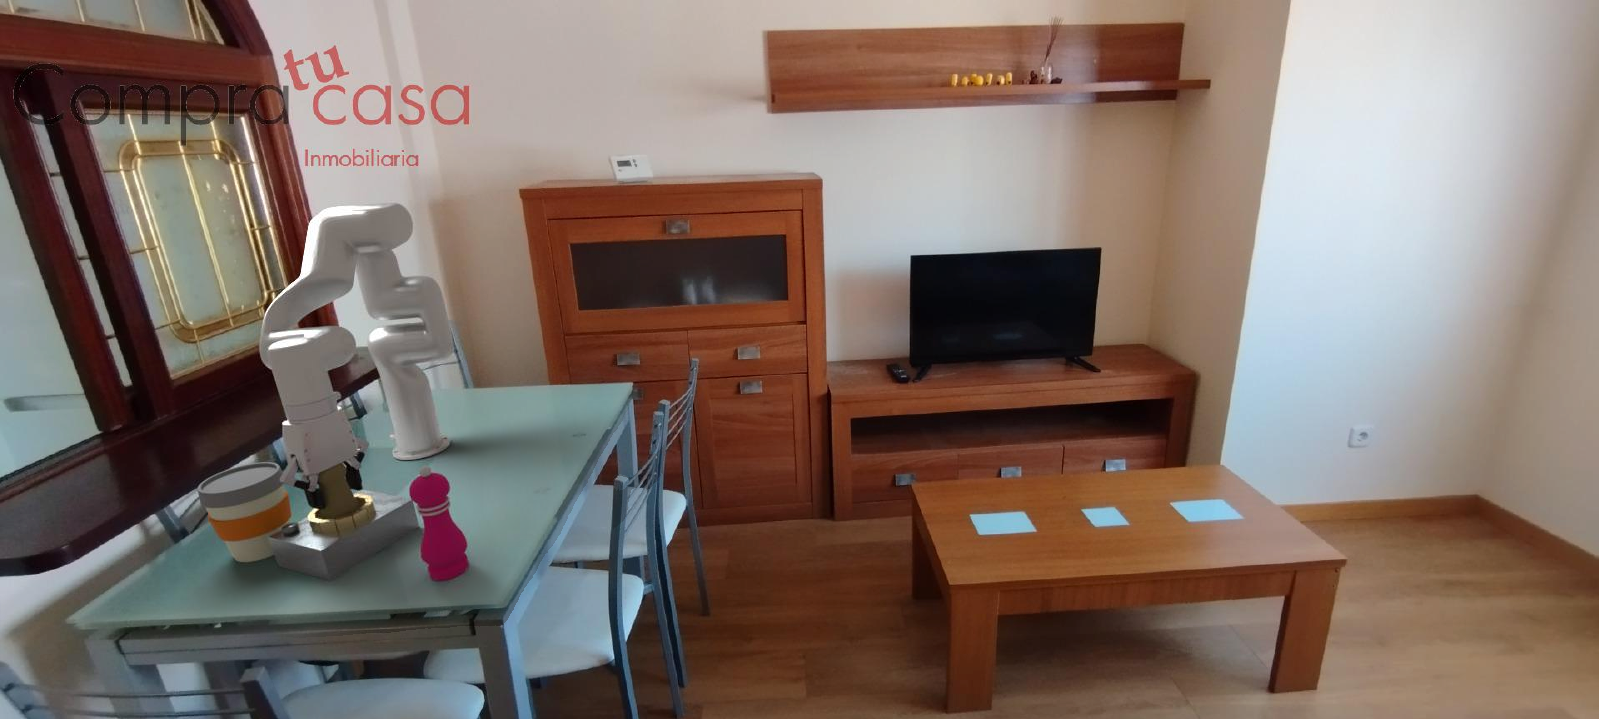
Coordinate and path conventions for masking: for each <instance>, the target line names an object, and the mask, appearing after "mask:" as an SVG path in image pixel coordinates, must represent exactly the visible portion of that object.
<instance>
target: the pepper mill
mask: <svg viewBox="0 0 1599 719" xmlns="http://www.w3.org/2000/svg"><path fill="white" fill-rule="evenodd" d="M418 473H419V476H417V477H416V478H414V479H413V481H412V482H411V484H410V485H409V488H408V489H409V492H408V493H409V494H408V495H409V497H410V499H412V501H413V503H415V504H416V507H415V508H416V510H417V514H418V515H419V516H421V518H422V521H423V522H422V523H423V535H422V539H421V543H420V550H419V551H420V557H421V560H422V561H423V562H424V563H425V564H427V572H428V575H429V577H430V579H431V580H434V581H439V582H441V581H447V580H452V579H455V578H456V577H458V576H460V575H462V574H463V573H464V572H466V571H467V570H468V567H469V565H470V563H469V558H468V555H467V553H466V551H467V549H468V541H467V538H466V536H465V535H464V532H463V531H462V530H461V529H460V528H459V526H458V525H457V524H456V523H455V522H454V520H453V519H452V517H451V513H450V510H449V509H450V507H451V505H452V504H451V501H450V497H449V496H448V495H449V493H450V490H451V488H450V486H451V485H450V481H449V480H448V478H447V477H446V476H445V475H444V474H442V473H439V472H432V468H431V467H429V466H422V467H421V468H420V469H419V472H418Z"/></svg>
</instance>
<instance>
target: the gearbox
mask: <svg viewBox="0 0 1599 719" xmlns="http://www.w3.org/2000/svg"><path fill="white" fill-rule="evenodd" d="M353 495H354V497H355V499H356V501H357V503H358V505H359V507H360V509H359V510H357V511H355V512H353V513H351V514H349V515H346V516H342V517H339V518H336V519H327V520H323V514H322V510H320V509H315V508H312V509H311V511H310V512H309V513H307V517H304V518H303V519H301V520H298V521H295V522H290V523H289V524H287V525H285V526H283V527H282V530H281V531H279V532H277V533H275V534H273V535H271V536H269V540H270V543H271V546H272V549H273V552H274V555H273V556H274V558H275V561H276V564H277V566H278V567H281V568H284V569H286V570H287V569H289V570H292V571H295V572H298V573H303V574H306V575H309V576H312V577H316V578H320V579H323V580H327V581H332V580H334V579H335V578H337V577H339V576H341V575H342V574H344V573H346V572H347V571H348V570H351V569H352V568H354V567H355V566H357V565H358V564H360V563H362V562H363V561H365V560H367V559H369V558H370V557H372V556H373V555H375V554H377V553H379V552H380V551H382V550H383V549H385V548H387V547H389V545H391V544H394V543H395V542H396V541H398V540H400V539H401V538H403V537H404V536H406V535H408V534H410V533H411V532H414V530H416V529H417V528H420V525H419V520H418V516H417V512H416V509H415V508H416V507H415V505H414V501H412V499H411V498H407V497H403V496H397V495H392V494H386V493H383V492H378V491H373V490H368V489H364V488H363V489H362V490H360V491H358V490H357V491H356V492H353Z"/></svg>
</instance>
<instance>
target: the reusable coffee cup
mask: <svg viewBox="0 0 1599 719" xmlns="http://www.w3.org/2000/svg"><path fill="white" fill-rule="evenodd" d="M282 474H283V471H282V468H281V466H280V465H279V464H278V463H276V462H271V461H268V462H267V461H263V462H253V463H248V464H243V465H240V466H236V467H232V468H228V469H226V470H224V471H223V470H222V471H221V472H218V473H215V474H214V475H212V476H210V477H208V478H206V479H205V480H204V481H203V480H202V482H201V483H200V484H199V485H198V487H197V494H198V500H199V503H200V505H201V507H204V508H205V510H206V512H207V513H208V515H207V519H208V521H209V523H210V525H211V527H212V528H213V530H214V531H215V534H216V535H217V537H218V538H219V540H221V541H223V542H224V543H225V544H226V547H227V548H228V550H229V552H230V553H231V554H230V555H231V556H232V557H233V559H234V560H235V561H237V562H239V563H250V562H256V561H261V560H264V559H267V558H270V557H273V556H275V555H274V552H273V549H272V546H271V543H270V540H269V536H271V535H273V534H275V533H277V532H279V531H281V530H282V527H283V526H285V525H287V524H289V523H291V521H290V519H291V517H292V511H291V503H290V495H289V492H288V491H287V490H286V486H285V483H283V482H280V477H281V476H282Z"/></svg>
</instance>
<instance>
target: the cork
mask: <svg viewBox="0 0 1599 719" xmlns="http://www.w3.org/2000/svg"><path fill="white" fill-rule="evenodd" d="M345 475H346V467H345V466H344V464H343V463H341V464H338V465H336V466H333V467H331V468H329V469H327V470H325V471H323V472H321V473H319V474H318V480H317V486H318V488H319V489H321V492H322V495H323V499H324V502H325V505H326V507H325V509H323V510H322V514H323V520H327V519H336V518H339V517H342V516H346V515H349V514H351V513H353V512H355V511H357V510H359V509H360V507H359V505H358V503H357V501H356V499H355V497H354V495H353V494H354V492H353V491H352V489H350V487H349V485H348V483H347V481H346V478H345Z"/></svg>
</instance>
